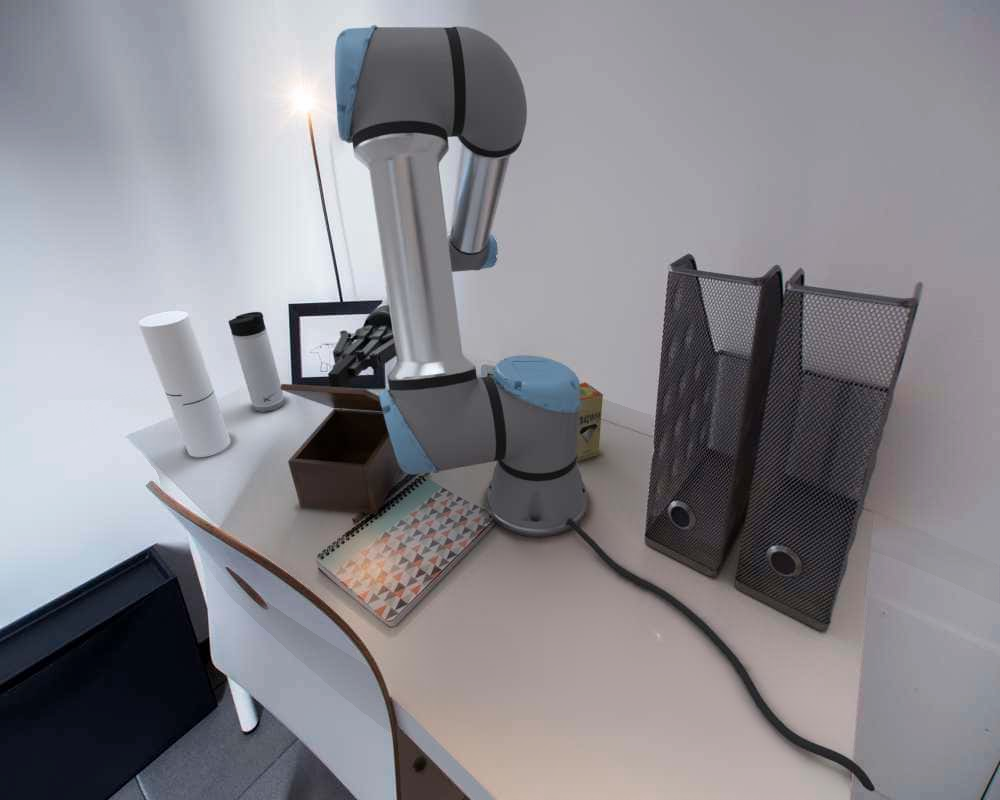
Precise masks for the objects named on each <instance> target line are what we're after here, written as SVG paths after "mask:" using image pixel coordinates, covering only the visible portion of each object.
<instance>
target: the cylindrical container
mask: <svg viewBox="0 0 1000 800" xmlns="http://www.w3.org/2000/svg"><path fill="white" fill-rule="evenodd" d="M138 326H139V328H140V331H141V333H142V336H143V339H144V342H145V344H146V347H147V349H148V352H149V354H150V357H151V360H152V363H153V364H154V368H155V370H156V372H157V375H158V378H159V381H160V383H161V385H162V388H163V391H164V393H165V396H166V399H167V401H168V403H169V406H170V409H171V411H172V414H173V417H174V419H175V423H176V425H177V428H178V430H179V433H180V436H181V438H182V441H183V442H184V446H185V448H186V450H187V453H188V455H189V456H190V457H194V458H207V457H210V456H214V455H217V454H220V453H221V452H223V451H225V450H226V449H227V448H228V447H229V446H230V444H231V438H230V437H231V436H230V435H229V432H228V429H227V426H226V423H225V420H224V417H223V414H222V411H221V408H220V405H219V401H218V399H217V395H216V392H215V390H214V387H213V384H212V381H211V378H210V375H209V371H208V368H207V366H206V363H205V360H204V357H203V354H202V351H201V348H200V344H199V342H198V339H197V335H196V332H195V330H194V326H193V324H192V320H191V317H190V315H189V313H188V312H187V311H184V310H169V311H162V312H158V313H154V314H151V315H147V316H145V317H143V318H141V319H140V320H139V321H138Z"/></svg>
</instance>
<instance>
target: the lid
mask: <svg viewBox="0 0 1000 800" xmlns="http://www.w3.org/2000/svg"><path fill="white" fill-rule="evenodd" d="M280 384H281V390H282V391H283V392H287V393H290V394H291V395H295V396H298V397H300V398H303V399H306V400H309V401H312V402H315V403H318V404H319V405H323V406H326V407H329V408H332V409H350V410H364V411H379V412H383V410H382V407H381V403H380V399H379V394H376V393H374V392H372V391H370V390H368V389H366V388H358V387H357V388H356V387H343V388H341V387H331V386H325V385H324V386H322V385H309V384H307V385H306V384H289V383H280Z"/></svg>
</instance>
